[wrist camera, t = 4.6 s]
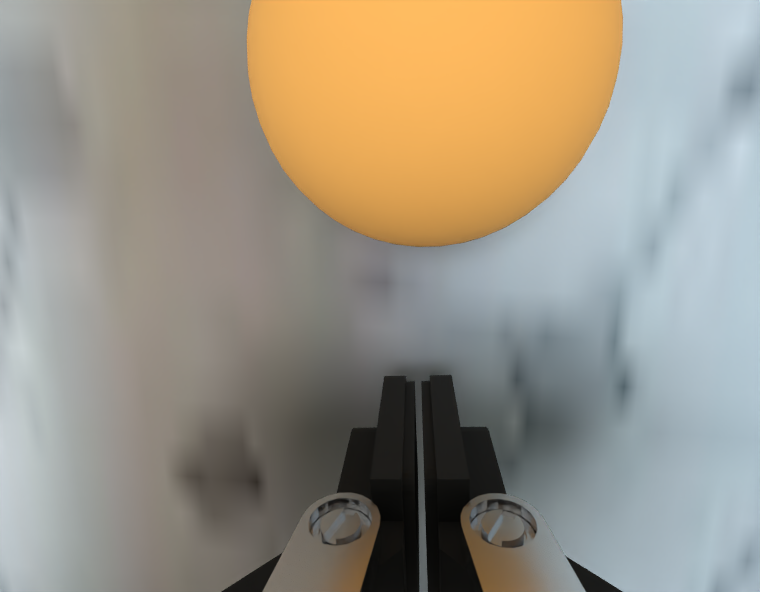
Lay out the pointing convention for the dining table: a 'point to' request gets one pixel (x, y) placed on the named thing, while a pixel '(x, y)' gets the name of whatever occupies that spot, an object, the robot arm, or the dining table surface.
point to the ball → (431, 106)
